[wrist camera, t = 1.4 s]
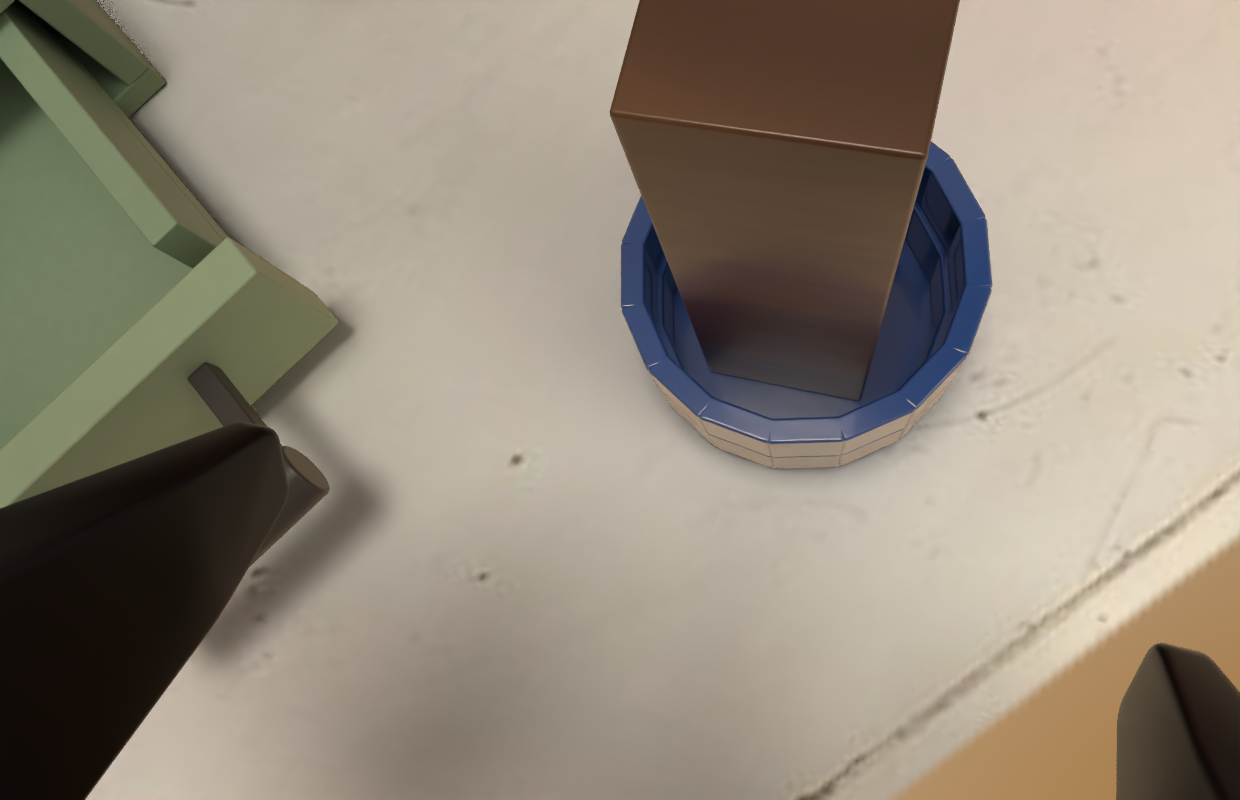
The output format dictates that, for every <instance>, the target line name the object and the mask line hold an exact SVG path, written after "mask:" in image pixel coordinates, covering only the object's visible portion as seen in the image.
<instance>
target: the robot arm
mask: <svg viewBox="0 0 1240 800" xmlns="http://www.w3.org/2000/svg"><path fill="white" fill-rule="evenodd" d="M288 490H289V485H288V479H287V474H286V469H285V464H284V459H283V454H282V450H281V445H280V440H279V437H278V435H277V434H276V432H275V431H274V430H272V429H271V428H269V427H265V426H261V425H257V424H253V423H249V422H235V423H232V424H229V425H226V426H224V427H221V428H218V429H215V430H213V431H210V432H207V433H204V434H202V435H199V436H196V437H194V438H191V439H188V440H185V441H183V442H180V443H177V444H174V445H172V446H169V447H166V448H164V449H161V450H158V451H155V452H153V453H150V454H147V455H144V456H142V457H139V458H136V459H134V460H131V461H128V462H125V463H123V464H120V465H117V466H114V467H112V468H109V469H106V470H104V471H101V472H98V473H95V474H93V475H90V476H87V477H84V478H82V479H79V480H76V481H73V482H71V483H68V484H65V485H63V486H60V487H57V488H54V489H52V490H49V491H46V492H43V493H41V494H38V495H35V496H33V497H30V498H27V499H24V500H22V501H19V502H16V503H13V504H11V505H8V506H5V507H3V508H0V800H85V799H86V798H87V796H88V795H89V794H90V792H91V791H92V790H93V788H94V787H95V785H96V784H97V783H98V781H99V780H100V779H101V777H102V776H103V775H104V773H105V772H106V771H107V769H108V768H109V766H110V765H111V764H112V762H113V761H114V760H115V758H116V757H117V756H118V754H119V753H120V752H121V750H122V749H123V747H124V746H125V745H126V743H127V742H128V741H129V739H130V738H131V737H132V735H133V734H134V732H135V731H136V730H137V728H138V727H139V726H140V724H141V723H142V722H143V720H144V719H145V718H146V716H147V715H148V713H149V712H150V711H151V709H152V708H153V707H154V705H155V704H156V703H157V701H158V700H159V699H160V697H161V696H162V694H163V693H164V692H165V690H166V689H167V688H168V686H169V685H170V684H171V682H172V681H173V679H174V678H175V677H176V675H177V674H178V673H179V671H180V670H181V669H182V667H183V666H184V665H185V663H186V662H187V660H188V659H189V658H190V656H191V655H192V654H193V652H194V651H195V650H196V648H197V647H198V646H199V644H200V643H201V641H202V640H203V639H204V637H205V636H206V635H207V633H208V632H209V630H210V629H211V627H212V626H213V625H214V623H215V622H216V620H217V619H218V617H219V616H220V614H221V613H222V611H223V609H224V608H225V606H226V605H227V603H228V602H229V600H230V598H231V597H232V595H233V593H234V592H235V590H236V588H237V586H238V585H239V583H240V581H241V580H242V578H243V576H244V575H245V573H246V571H247V569H248V568H249V566H250V564H251V563H252V561H253V559H254V558H255V556H256V554H257V552H258V551H259V549H260V547H261V546H262V544H263V542H264V541H265V539H266V537H267V535H268V534H269V532H270V530H271V529H272V527H273V525H274V524H275V522H276V520H277V518H278V517H279V515H280V513H281V512H282V510H283V508H284V506H285V504H286V501H287V497H288ZM1116 800H1240V692H1239V691H1238V689H1237V688H1236V687H1235V686H1234V685H1233V684H1232V682H1231V681H1230V680H1229V679H1228V678H1227V676H1226V675H1225V674H1224V673H1223V672H1222V670H1221V669H1220V668H1219V667H1218V666H1217V665H1216V663H1215V662H1214V661H1213V660H1212V659H1211V658H1209V656H1207V655H1206V654H1204V653H1201V652H1199V651H1195V650H1191V649H1187V648H1182V647H1178V646H1174V645H1170V644H1166V643H1158V644H1155V645H1153V646H1152V647H1151V648H1150V649H1149V650H1148V652H1147V654H1146V655H1145V657H1144V659H1143V661H1142V663H1141V665H1140V667H1139V669H1138V671H1137V673H1136V675H1135V677H1134V678H1133V680H1132V682H1131V684H1130V686H1129V688H1128V690H1127V692H1126V693H1125V695H1124V697H1123V699H1122V702H1121V705H1120V708H1119V713H1118V720H1117V794H1116Z"/></svg>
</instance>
